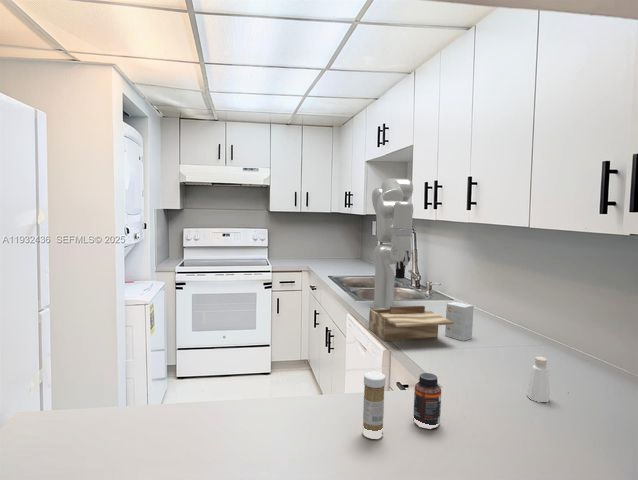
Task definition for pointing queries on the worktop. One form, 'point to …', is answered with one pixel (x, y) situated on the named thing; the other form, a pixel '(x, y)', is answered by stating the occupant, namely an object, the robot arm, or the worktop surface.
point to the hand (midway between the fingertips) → (399, 278)
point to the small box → (459, 321)
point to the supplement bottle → (427, 399)
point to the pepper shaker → (539, 381)
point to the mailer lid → (413, 317)
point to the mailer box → (398, 328)
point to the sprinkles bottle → (373, 401)
